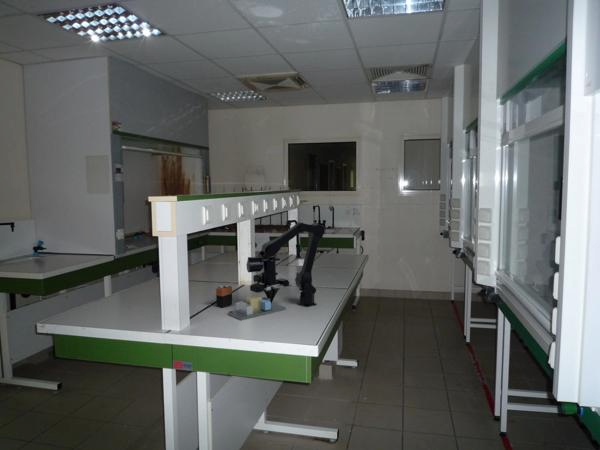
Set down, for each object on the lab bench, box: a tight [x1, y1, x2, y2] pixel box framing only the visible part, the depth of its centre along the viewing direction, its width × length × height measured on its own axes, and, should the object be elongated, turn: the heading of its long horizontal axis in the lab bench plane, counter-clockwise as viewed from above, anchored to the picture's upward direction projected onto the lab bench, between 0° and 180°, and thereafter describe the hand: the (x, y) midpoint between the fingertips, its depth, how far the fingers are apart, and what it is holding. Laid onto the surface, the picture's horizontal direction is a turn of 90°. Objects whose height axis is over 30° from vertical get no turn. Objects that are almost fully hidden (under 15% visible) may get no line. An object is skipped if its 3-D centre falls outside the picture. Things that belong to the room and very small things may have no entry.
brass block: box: [245, 295, 263, 312], centre depth 188 cm, size 6×4×6 cm, turn 130°
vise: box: [227, 301, 287, 321], centre depth 189 cm, size 24×11×5 cm, turn 130°
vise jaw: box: [262, 296, 271, 310], centre depth 191 cm, size 4×9×4 cm, turn 40°
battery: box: [215, 284, 233, 309], centre depth 200 cm, size 4×7×10 cm, turn 145°
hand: (270, 303), depth 194 cm, fingers closed
